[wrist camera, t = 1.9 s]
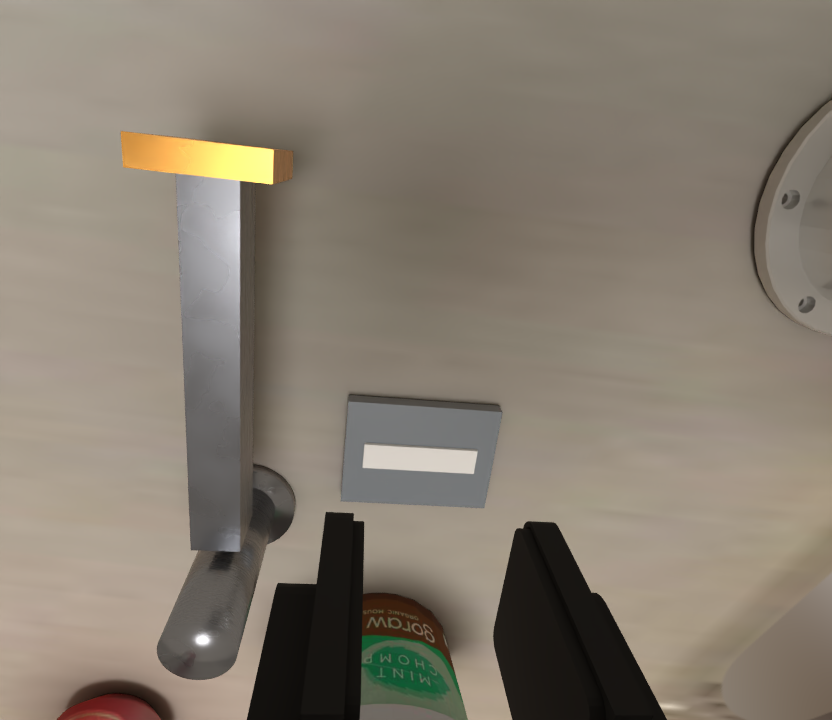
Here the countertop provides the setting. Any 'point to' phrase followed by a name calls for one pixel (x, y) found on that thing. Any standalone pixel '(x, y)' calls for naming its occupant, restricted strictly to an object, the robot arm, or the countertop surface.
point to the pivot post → (224, 589)
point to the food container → (405, 663)
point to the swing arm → (215, 317)
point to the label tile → (419, 451)
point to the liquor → (111, 709)
